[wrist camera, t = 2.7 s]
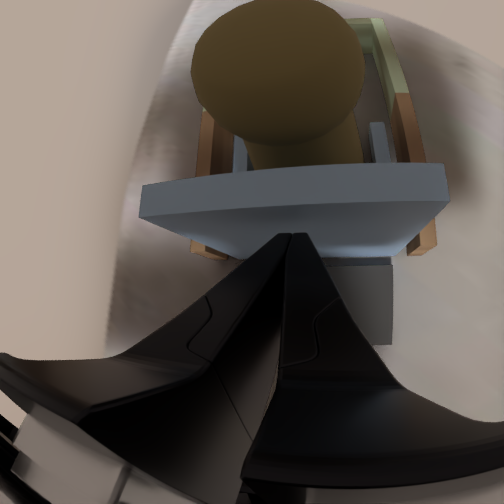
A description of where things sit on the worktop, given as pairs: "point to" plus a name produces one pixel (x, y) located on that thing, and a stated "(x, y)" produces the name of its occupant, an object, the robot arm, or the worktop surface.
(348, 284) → the pit mat
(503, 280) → the worktop surface
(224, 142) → the track
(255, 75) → the cork
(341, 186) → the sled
